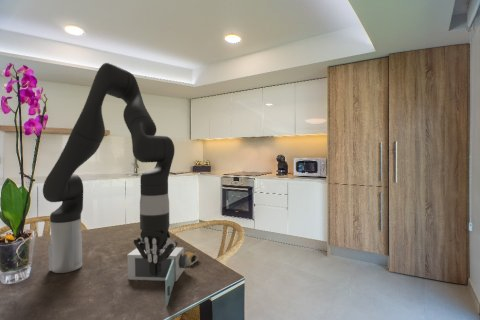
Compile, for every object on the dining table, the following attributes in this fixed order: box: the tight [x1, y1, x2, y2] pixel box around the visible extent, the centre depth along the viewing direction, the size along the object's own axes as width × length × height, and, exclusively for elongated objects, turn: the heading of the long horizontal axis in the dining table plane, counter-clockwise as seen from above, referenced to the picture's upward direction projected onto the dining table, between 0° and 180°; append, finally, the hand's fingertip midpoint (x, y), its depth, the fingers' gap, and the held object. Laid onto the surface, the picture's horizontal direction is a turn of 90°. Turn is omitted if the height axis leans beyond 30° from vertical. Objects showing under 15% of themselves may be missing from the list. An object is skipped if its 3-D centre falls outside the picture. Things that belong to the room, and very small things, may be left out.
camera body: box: [126, 245, 188, 282], centre depth 95 cm, size 18×8×9 cm, turn 84°
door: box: [164, 258, 177, 306], centre depth 82 cm, size 15×1×7 cm, turn 5°
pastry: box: [184, 251, 199, 267], centre depth 106 cm, size 9×7×4 cm
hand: (155, 275), depth 76 cm, fingers closed
